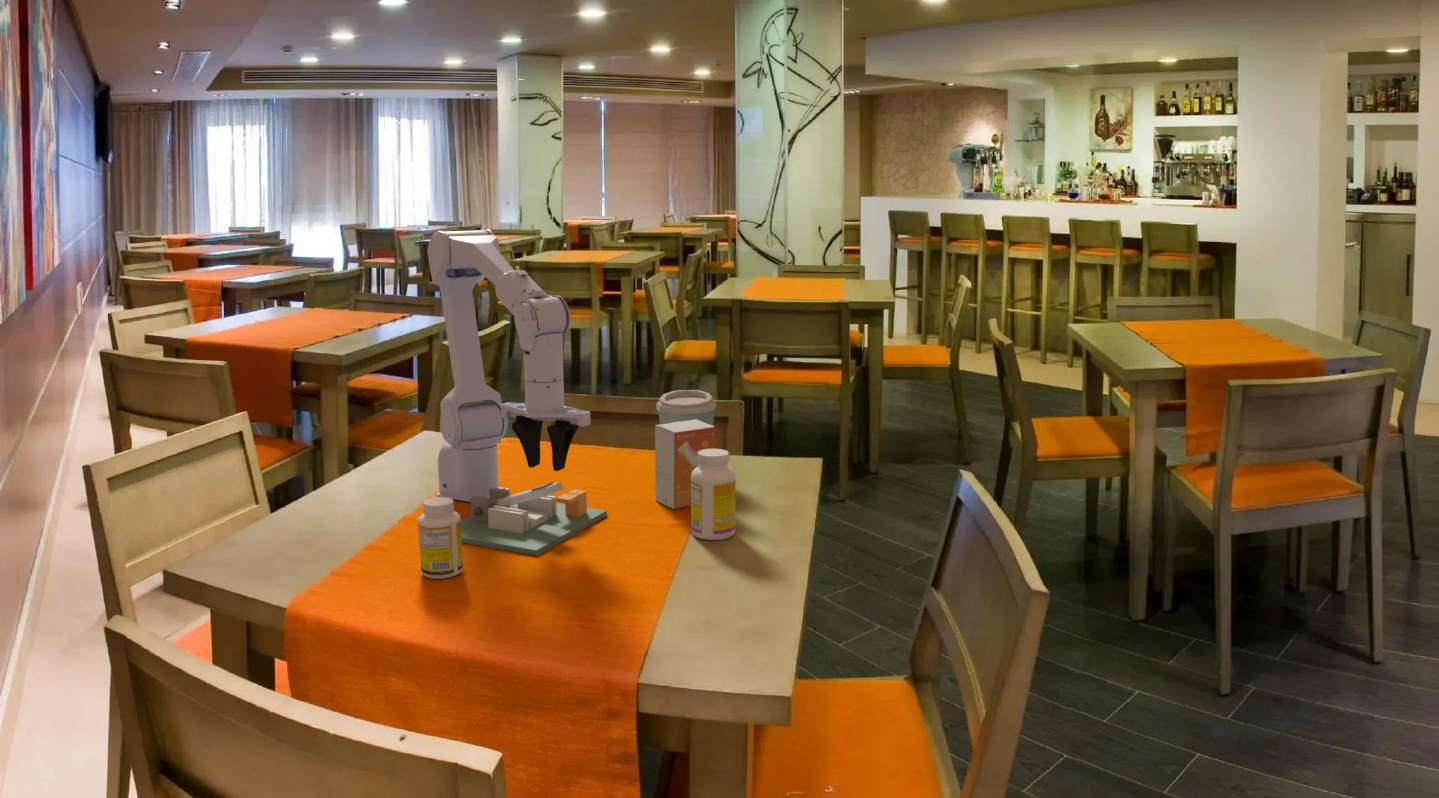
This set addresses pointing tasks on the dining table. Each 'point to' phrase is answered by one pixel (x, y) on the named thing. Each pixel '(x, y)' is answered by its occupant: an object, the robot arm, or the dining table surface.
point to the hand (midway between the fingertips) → (546, 467)
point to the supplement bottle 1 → (440, 539)
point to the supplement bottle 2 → (713, 496)
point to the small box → (679, 459)
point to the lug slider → (574, 502)
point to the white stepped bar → (528, 495)
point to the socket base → (522, 523)
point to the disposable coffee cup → (686, 406)
